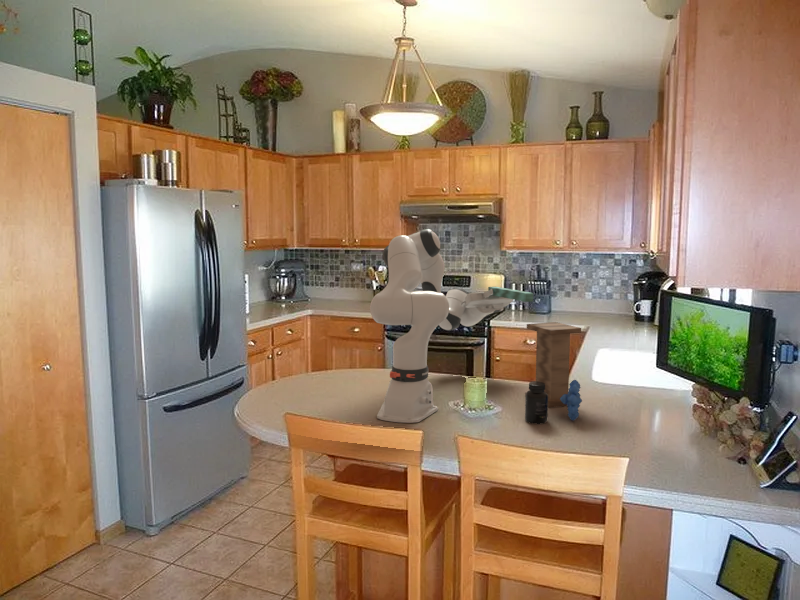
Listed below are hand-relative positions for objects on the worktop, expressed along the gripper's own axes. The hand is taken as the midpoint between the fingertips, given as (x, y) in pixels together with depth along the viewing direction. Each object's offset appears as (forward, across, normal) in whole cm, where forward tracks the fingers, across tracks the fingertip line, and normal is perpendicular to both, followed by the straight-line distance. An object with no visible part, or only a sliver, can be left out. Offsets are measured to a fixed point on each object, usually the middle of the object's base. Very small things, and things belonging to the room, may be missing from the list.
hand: (497, 290), depth 229 cm
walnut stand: (+10, +3, +46) cm, 47 cm away
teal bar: (+6, 0, +6) cm, 8 cm away
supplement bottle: (+24, -15, +55) cm, 62 cm away
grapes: (+25, -3, +56) cm, 61 cm away
